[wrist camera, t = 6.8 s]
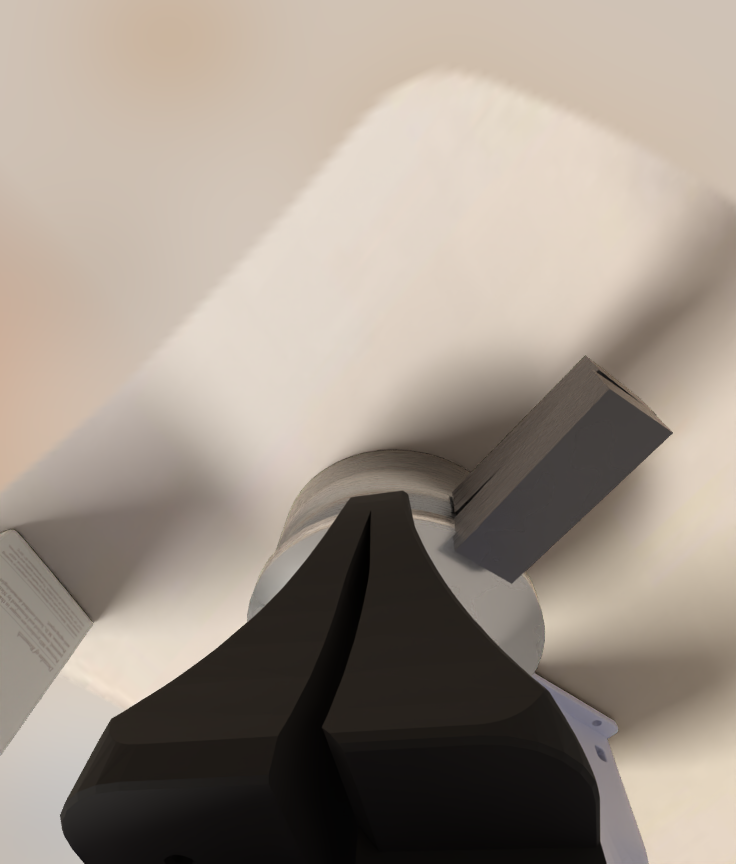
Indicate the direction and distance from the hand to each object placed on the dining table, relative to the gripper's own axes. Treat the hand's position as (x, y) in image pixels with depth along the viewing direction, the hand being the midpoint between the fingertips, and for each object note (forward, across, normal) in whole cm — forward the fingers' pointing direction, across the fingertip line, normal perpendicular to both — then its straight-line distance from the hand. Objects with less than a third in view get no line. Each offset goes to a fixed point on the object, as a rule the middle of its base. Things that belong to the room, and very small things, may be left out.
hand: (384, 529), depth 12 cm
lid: (+6, -1, +7) cm, 9 cm away
